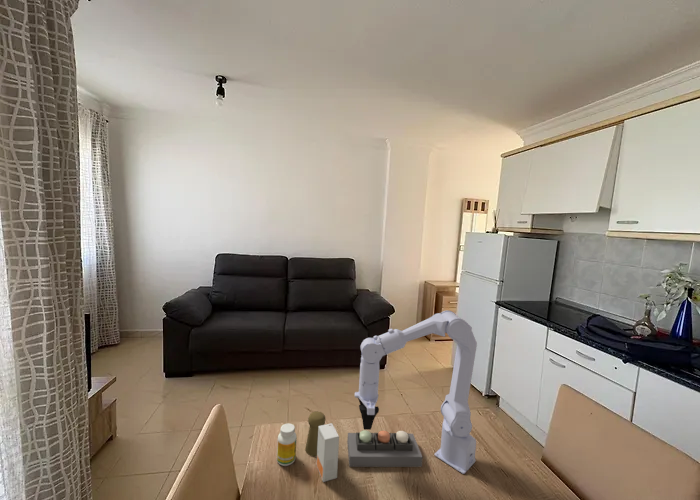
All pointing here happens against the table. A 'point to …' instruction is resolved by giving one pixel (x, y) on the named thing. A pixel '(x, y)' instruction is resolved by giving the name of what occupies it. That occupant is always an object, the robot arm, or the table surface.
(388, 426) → the table surface
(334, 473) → the skincare box
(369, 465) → the charcoal button panel
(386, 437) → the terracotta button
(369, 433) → the sage button
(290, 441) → the supplement bottle
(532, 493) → the table surface
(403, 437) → the cream button
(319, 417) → the olive pepper mill
